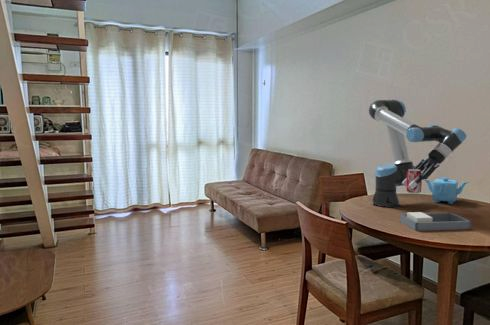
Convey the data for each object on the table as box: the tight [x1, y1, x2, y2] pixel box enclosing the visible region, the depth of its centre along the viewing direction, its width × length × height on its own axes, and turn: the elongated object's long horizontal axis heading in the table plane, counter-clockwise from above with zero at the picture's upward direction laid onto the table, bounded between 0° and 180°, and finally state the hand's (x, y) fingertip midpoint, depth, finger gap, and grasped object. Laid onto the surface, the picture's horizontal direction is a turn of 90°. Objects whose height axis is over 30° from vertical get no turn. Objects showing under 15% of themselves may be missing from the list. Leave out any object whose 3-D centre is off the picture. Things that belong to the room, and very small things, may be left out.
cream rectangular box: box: [406, 211, 433, 223], centre depth 166 cm, size 7×10×5 cm
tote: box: [399, 212, 472, 232], centre depth 166 cm, size 25×16×4 cm, turn 91°
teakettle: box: [423, 177, 470, 205], centre depth 215 cm, size 19×19×15 cm
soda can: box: [405, 169, 423, 195], centre depth 184 cm, size 7×7×12 cm
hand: (407, 185), depth 184 cm, fingers closed on soda can, 7 cm apart
